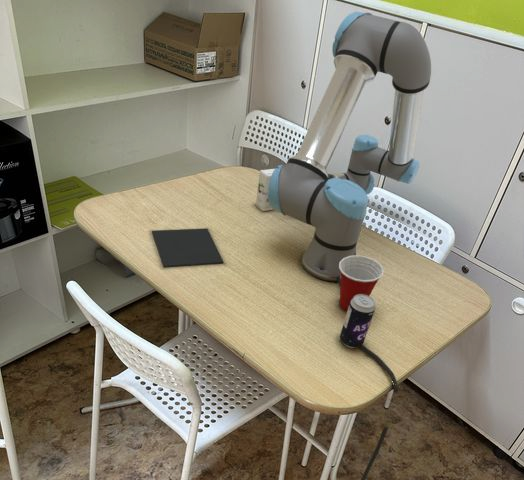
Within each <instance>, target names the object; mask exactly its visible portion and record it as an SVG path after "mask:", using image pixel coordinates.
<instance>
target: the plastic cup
mask: <svg viewBox="0 0 524 480" xmlns="http://www.w3.org/2000/svg"><path fill="white" fill-rule="evenodd" d="M339 269H340V271H341V287H340V286H339V307H340V308H341V309H342V310H343V311H345V312H347V311H348V307H349V304H350V301H351V300H352V299H353V297H354V296H355V295H358V294H364V295H367V296H370V297H371V294H372V292H373V290H374V289H375V286H376V285H377V283H378V281H379V280H380V279H381V278H382V277H383V275H384V273H385V272H384V271H385V269H384V267H383V266H382V264H381V262H379V261H377V260H376V259H375V258H372V257H369V256H366V255H359V254H356V255H354V256H348V257H345V258H343V259H342V260H341V261H340V262H339Z"/></svg>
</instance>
